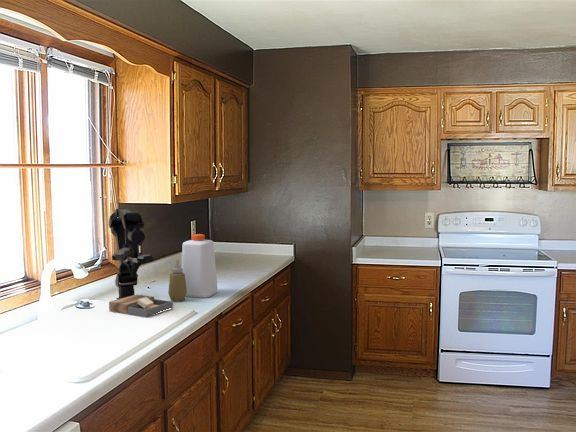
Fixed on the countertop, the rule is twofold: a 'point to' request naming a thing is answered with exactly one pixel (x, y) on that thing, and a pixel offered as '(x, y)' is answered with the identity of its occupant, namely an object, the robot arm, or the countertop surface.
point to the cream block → (144, 302)
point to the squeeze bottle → (177, 284)
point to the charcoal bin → (142, 312)
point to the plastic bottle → (199, 267)
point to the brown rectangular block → (125, 303)
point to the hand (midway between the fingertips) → (133, 277)
